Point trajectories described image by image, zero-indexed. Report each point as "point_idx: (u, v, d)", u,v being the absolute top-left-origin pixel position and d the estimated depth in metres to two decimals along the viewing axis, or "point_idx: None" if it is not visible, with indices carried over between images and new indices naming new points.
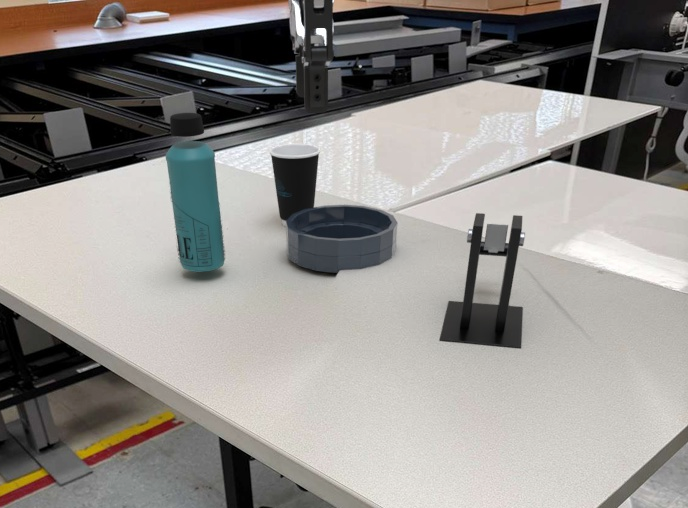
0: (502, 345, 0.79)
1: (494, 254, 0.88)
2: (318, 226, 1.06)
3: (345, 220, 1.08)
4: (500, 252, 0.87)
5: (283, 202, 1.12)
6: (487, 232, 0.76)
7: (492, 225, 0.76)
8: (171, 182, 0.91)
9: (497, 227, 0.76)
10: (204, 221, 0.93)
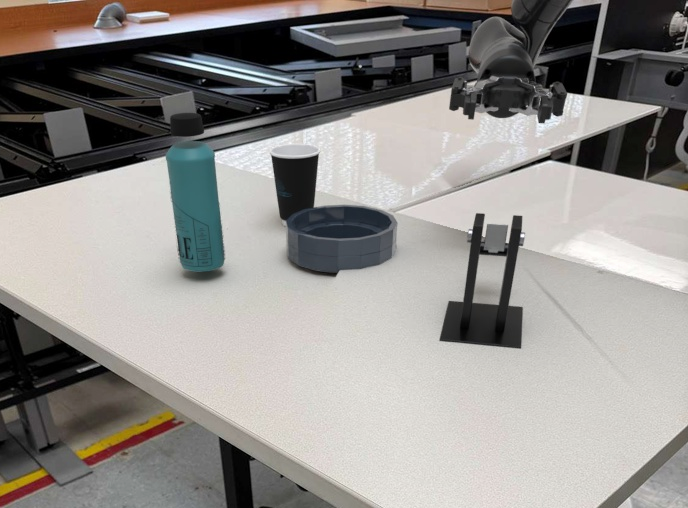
0: (502, 345, 0.79)
1: (494, 254, 0.88)
2: (318, 226, 1.06)
3: (345, 220, 1.08)
4: (500, 252, 0.87)
5: (283, 202, 1.12)
6: (487, 232, 0.76)
7: (492, 225, 0.76)
8: (171, 182, 0.91)
9: (497, 227, 0.76)
10: (204, 221, 0.93)
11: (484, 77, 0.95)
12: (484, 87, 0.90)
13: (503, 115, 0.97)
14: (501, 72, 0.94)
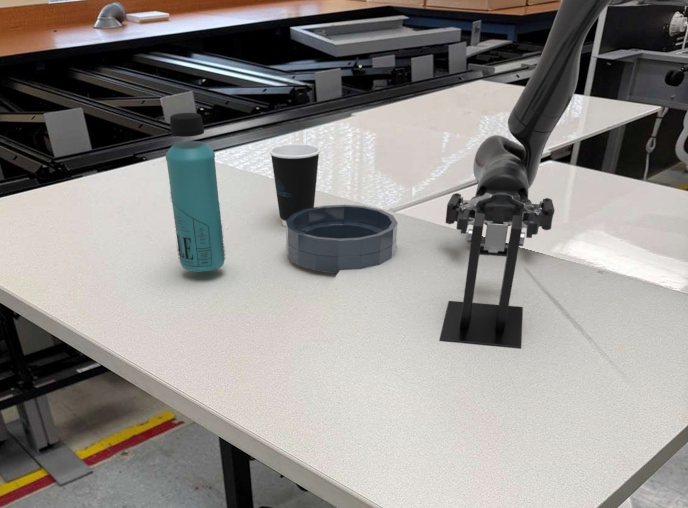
0: (502, 345, 0.79)
1: (494, 254, 0.88)
2: (318, 226, 1.06)
3: (345, 220, 1.08)
4: (500, 252, 0.87)
5: (283, 202, 1.12)
6: (487, 232, 0.76)
7: (492, 225, 0.76)
8: (171, 182, 0.91)
9: (497, 227, 0.76)
10: (204, 221, 0.93)
11: (480, 193, 1.03)
12: (477, 204, 0.98)
13: None
14: (495, 189, 1.02)
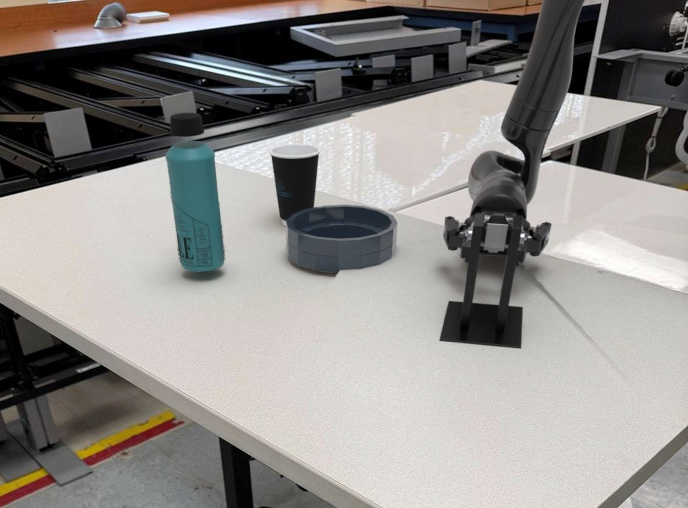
0: (502, 345, 0.79)
1: (494, 254, 0.88)
2: (318, 226, 1.06)
3: (345, 220, 1.08)
4: (500, 252, 0.87)
5: (283, 202, 1.12)
6: (487, 232, 0.76)
7: (492, 225, 0.76)
8: (171, 182, 0.91)
9: (497, 227, 0.76)
10: (204, 221, 0.93)
11: (475, 213, 0.95)
12: None
13: None
14: (491, 209, 0.94)
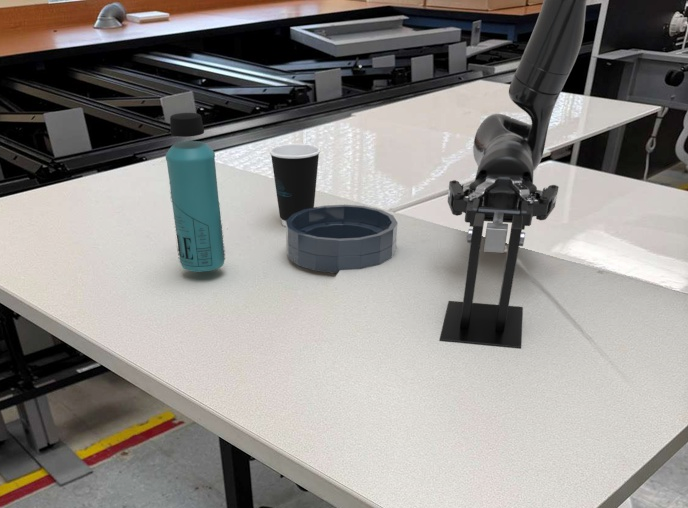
0: (502, 345, 0.79)
1: None
2: (318, 226, 1.06)
3: (345, 220, 1.08)
4: (505, 220, 0.86)
5: (283, 202, 1.12)
6: (486, 237, 0.77)
7: (491, 230, 0.76)
8: (171, 182, 0.91)
9: (496, 232, 0.76)
10: (204, 221, 0.93)
11: (480, 177, 0.93)
12: (485, 191, 0.88)
13: None
14: (497, 173, 0.92)
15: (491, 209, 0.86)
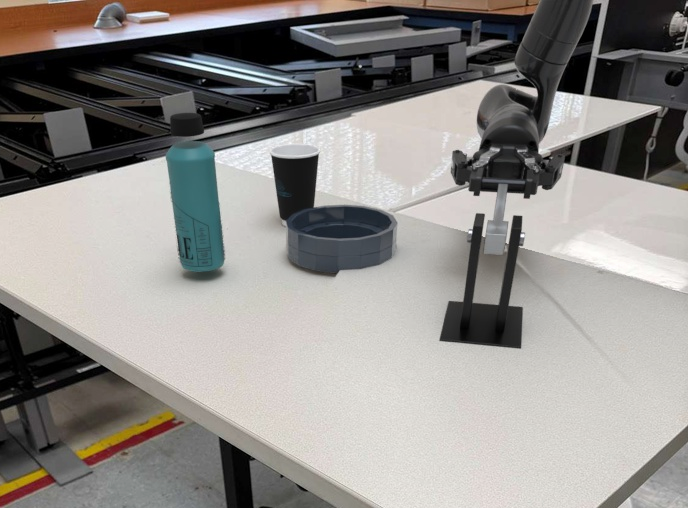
0: (502, 345, 0.79)
1: None
2: (318, 226, 1.06)
3: (345, 220, 1.08)
4: (509, 192, 0.84)
5: (283, 202, 1.12)
6: (486, 241, 0.77)
7: (490, 235, 0.76)
8: (171, 182, 0.91)
9: (495, 237, 0.76)
10: (204, 221, 0.93)
11: (484, 147, 0.90)
12: (489, 160, 0.85)
13: None
14: (501, 142, 0.89)
15: (495, 181, 0.83)
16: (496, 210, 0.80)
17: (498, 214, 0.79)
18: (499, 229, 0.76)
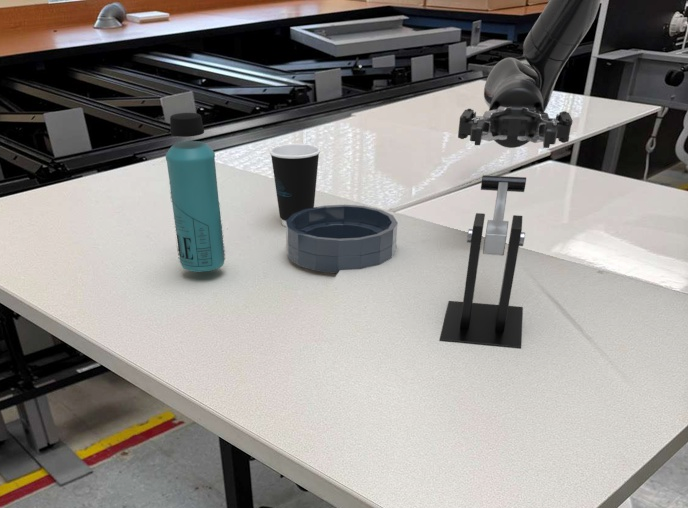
0: (502, 345, 0.79)
1: None
2: (318, 226, 1.06)
3: (345, 220, 1.08)
4: (510, 190, 0.84)
5: (283, 202, 1.12)
6: (486, 242, 0.77)
7: (490, 236, 0.76)
8: (171, 182, 0.91)
9: (495, 237, 0.76)
10: (204, 221, 0.93)
11: (493, 109, 0.98)
12: (491, 116, 0.94)
13: (513, 144, 1.00)
14: (509, 103, 0.97)
15: (495, 179, 0.83)
16: (496, 209, 0.80)
17: (498, 213, 0.79)
18: (499, 229, 0.76)
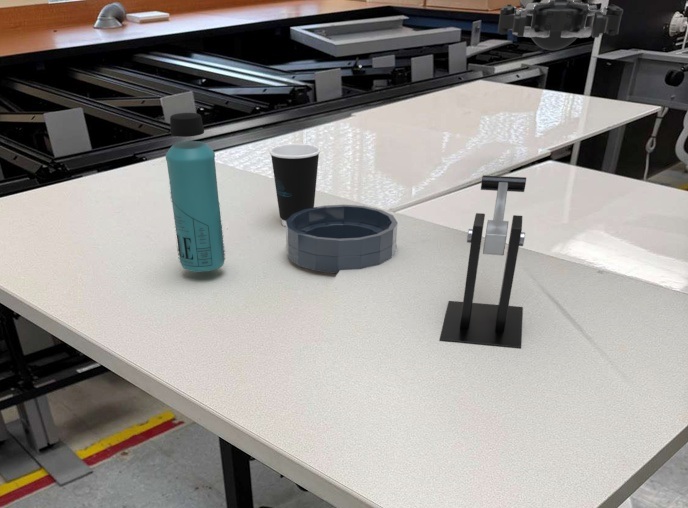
0: (502, 345, 0.79)
1: None
2: (318, 226, 1.06)
3: (345, 220, 1.08)
4: (510, 190, 0.84)
5: (283, 202, 1.12)
6: (486, 242, 0.77)
7: (490, 236, 0.76)
8: (171, 182, 0.91)
9: (495, 237, 0.76)
10: (204, 221, 0.93)
11: None
12: (535, 8, 0.87)
13: (554, 46, 0.94)
14: None
15: (495, 179, 0.83)
16: (496, 209, 0.80)
17: (498, 213, 0.79)
18: (499, 229, 0.76)
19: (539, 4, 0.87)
